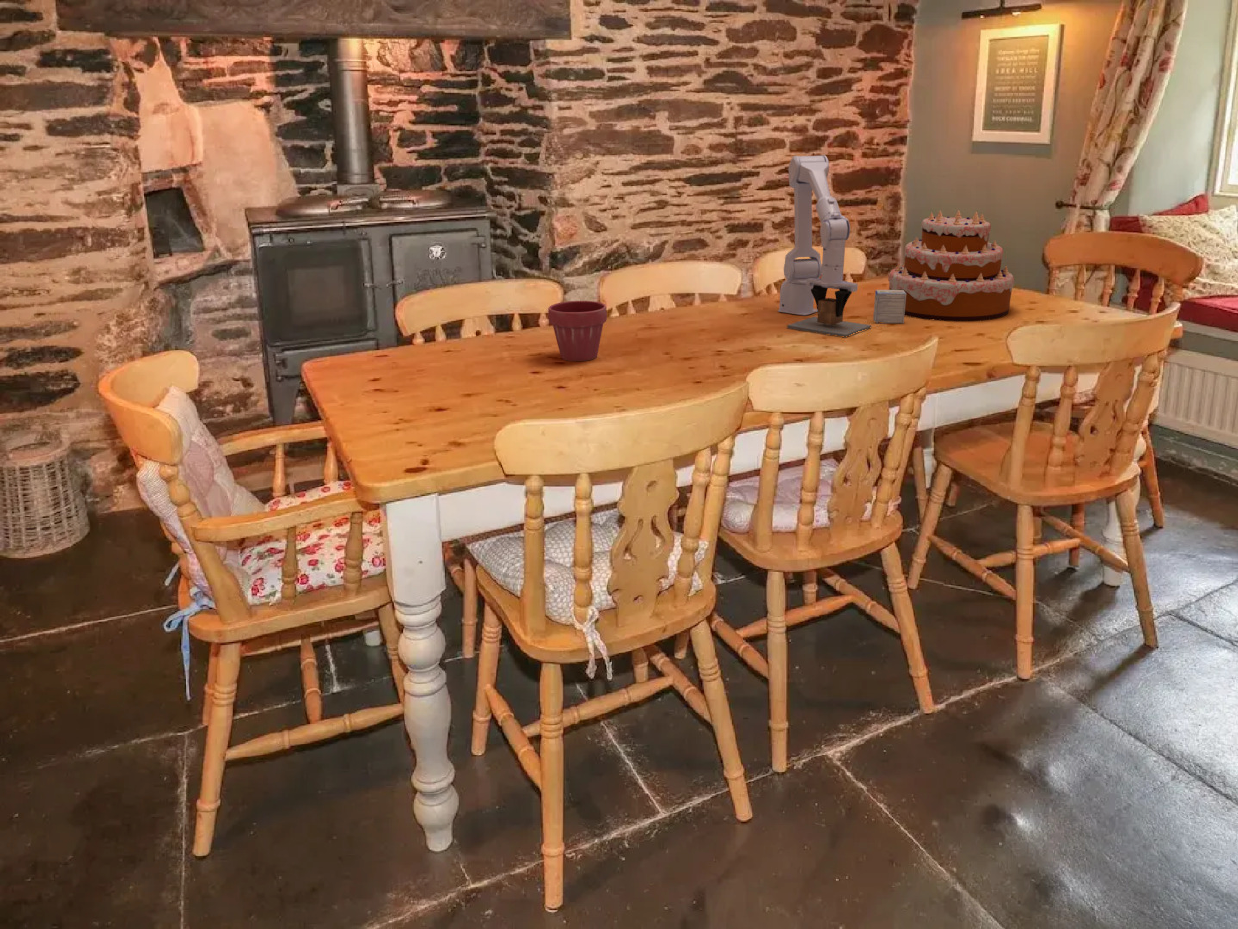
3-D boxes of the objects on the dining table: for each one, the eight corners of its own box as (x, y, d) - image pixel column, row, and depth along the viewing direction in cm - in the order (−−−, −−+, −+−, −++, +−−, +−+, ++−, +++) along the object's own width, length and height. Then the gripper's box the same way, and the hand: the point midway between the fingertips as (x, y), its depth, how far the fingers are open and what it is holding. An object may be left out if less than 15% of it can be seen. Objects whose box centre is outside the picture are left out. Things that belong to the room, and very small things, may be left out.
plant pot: (540, 361, 246) (538, 309, 242) (563, 348, 259) (562, 298, 254) (594, 366, 242) (593, 313, 237) (615, 352, 254) (614, 302, 249)
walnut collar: (817, 322, 275) (818, 300, 273) (826, 319, 278) (827, 297, 276) (833, 324, 272) (834, 302, 269) (842, 321, 275) (844, 299, 273)
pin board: (787, 328, 276) (787, 313, 274) (813, 319, 286) (814, 305, 284) (845, 337, 265) (846, 322, 263) (871, 328, 275) (872, 313, 273)
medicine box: (901, 320, 283) (904, 289, 280) (903, 323, 279) (906, 292, 276) (872, 320, 284) (875, 289, 281) (875, 323, 280) (877, 292, 277)
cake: (987, 296, 313) (998, 205, 303) (1028, 321, 280) (1042, 219, 270) (874, 297, 313) (881, 206, 304) (902, 322, 281) (911, 221, 271)
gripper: (801, 264, 271) (799, 313, 276) (849, 269, 262) (846, 320, 267) (815, 260, 276) (812, 309, 281) (862, 265, 267) (859, 316, 272)
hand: (829, 314), depth 274 cm, fingers closed on walnut collar, 5 cm apart
